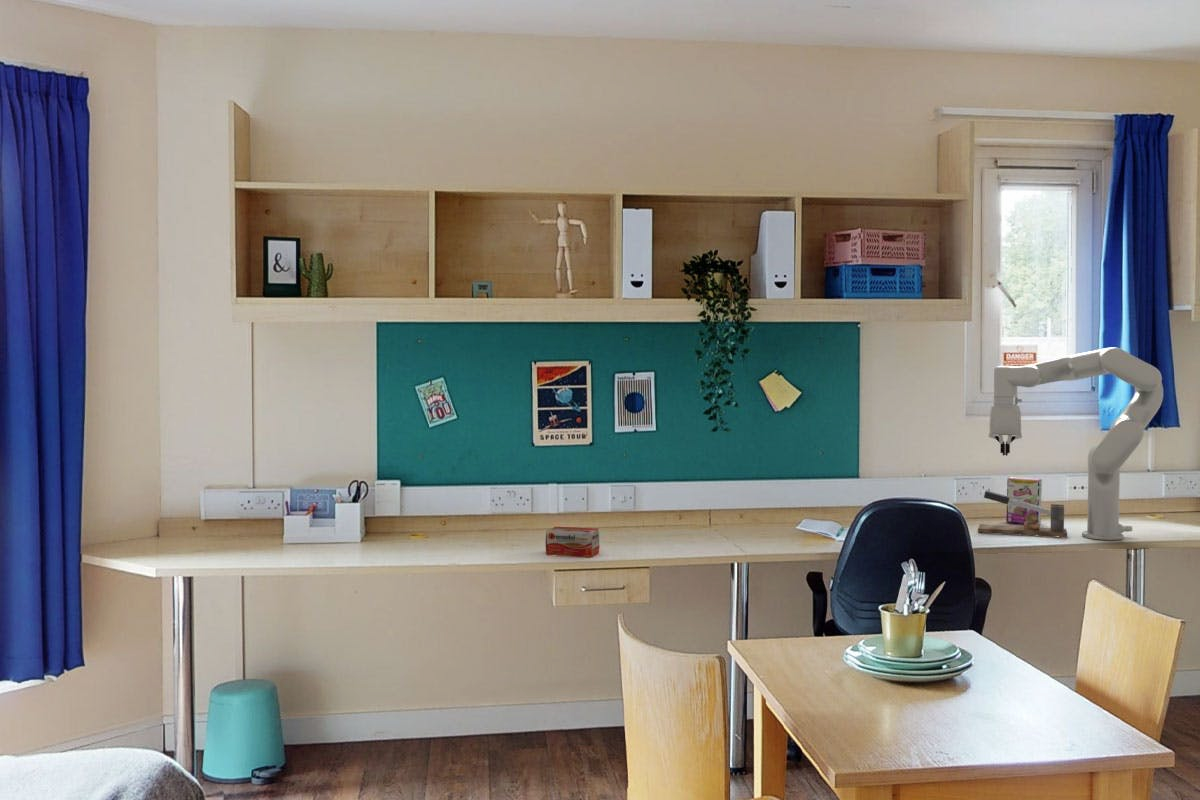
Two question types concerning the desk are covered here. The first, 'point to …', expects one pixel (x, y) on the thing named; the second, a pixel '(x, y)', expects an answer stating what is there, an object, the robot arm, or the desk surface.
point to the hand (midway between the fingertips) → (1005, 455)
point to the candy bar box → (1023, 498)
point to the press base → (1019, 530)
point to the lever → (1015, 502)
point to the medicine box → (572, 542)
